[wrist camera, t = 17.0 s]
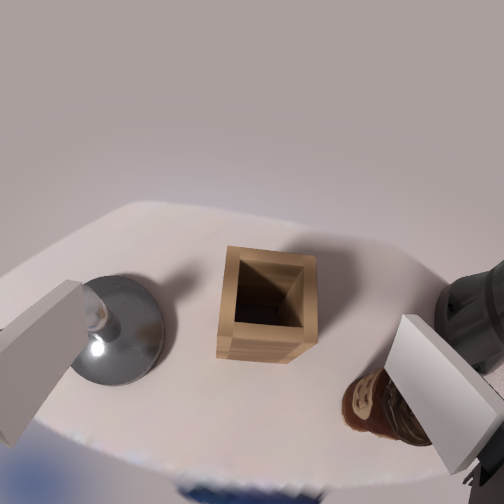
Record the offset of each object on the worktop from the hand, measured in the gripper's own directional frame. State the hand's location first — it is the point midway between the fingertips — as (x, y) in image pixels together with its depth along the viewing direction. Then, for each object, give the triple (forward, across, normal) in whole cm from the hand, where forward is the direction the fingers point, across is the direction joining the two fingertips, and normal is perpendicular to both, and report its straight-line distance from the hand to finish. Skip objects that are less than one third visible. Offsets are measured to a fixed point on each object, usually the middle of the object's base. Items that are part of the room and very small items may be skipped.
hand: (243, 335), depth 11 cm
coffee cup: (+13, +15, -16) cm, 26 cm away
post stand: (+16, -13, -12) cm, 24 cm away
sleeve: (+18, +2, -10) cm, 21 cm away
